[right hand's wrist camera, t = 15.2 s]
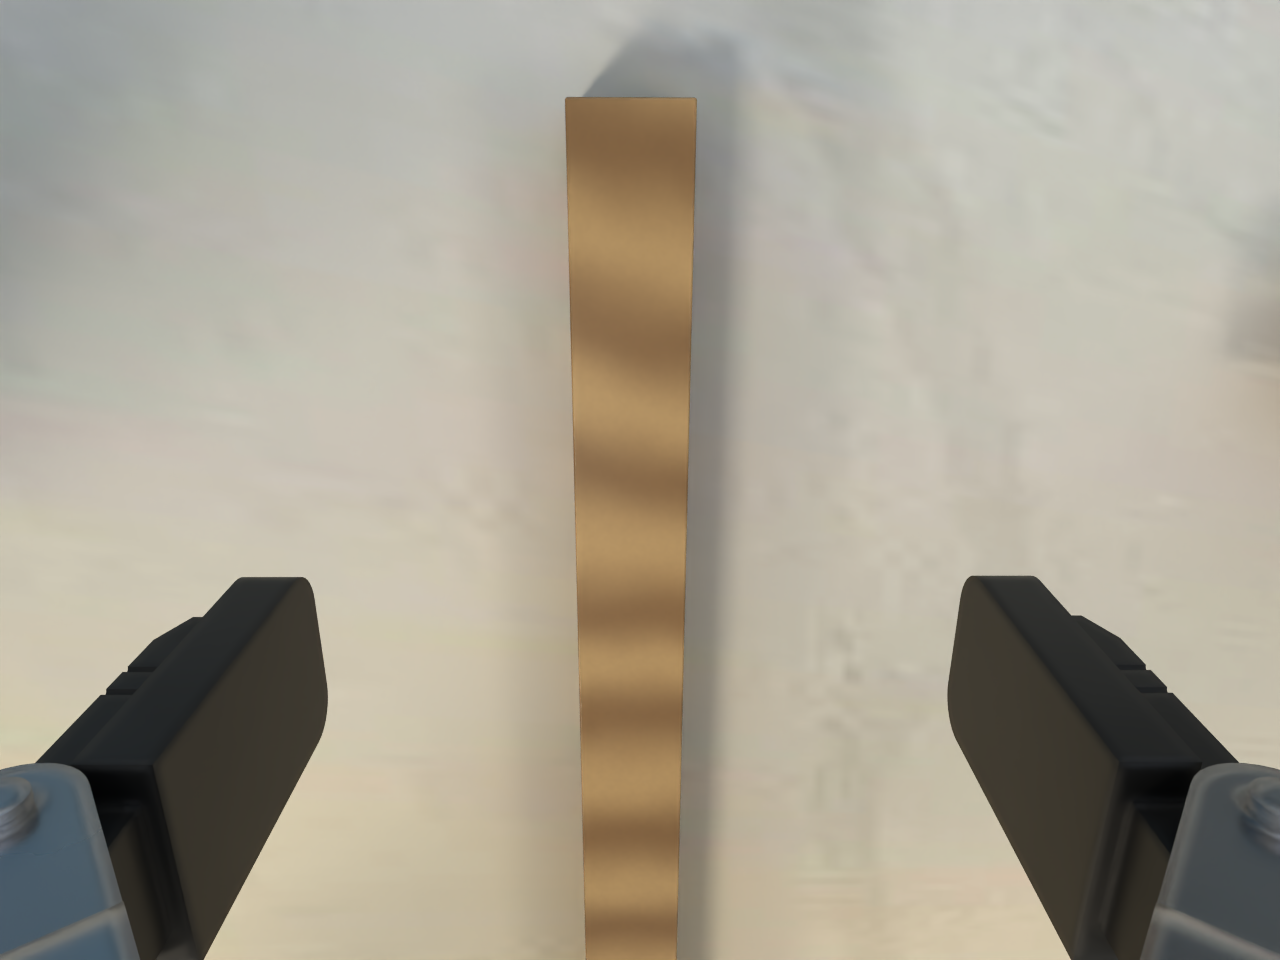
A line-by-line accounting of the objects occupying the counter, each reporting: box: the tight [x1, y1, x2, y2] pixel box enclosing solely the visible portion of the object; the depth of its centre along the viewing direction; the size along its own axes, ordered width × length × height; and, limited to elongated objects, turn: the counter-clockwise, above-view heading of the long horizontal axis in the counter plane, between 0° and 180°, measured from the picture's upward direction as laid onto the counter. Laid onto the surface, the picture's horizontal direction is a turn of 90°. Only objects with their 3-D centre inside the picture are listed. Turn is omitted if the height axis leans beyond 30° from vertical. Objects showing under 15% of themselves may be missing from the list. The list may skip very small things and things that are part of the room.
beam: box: [565, 97, 697, 960], centre depth 48 cm, size 68×5×6 cm, turn 0°
